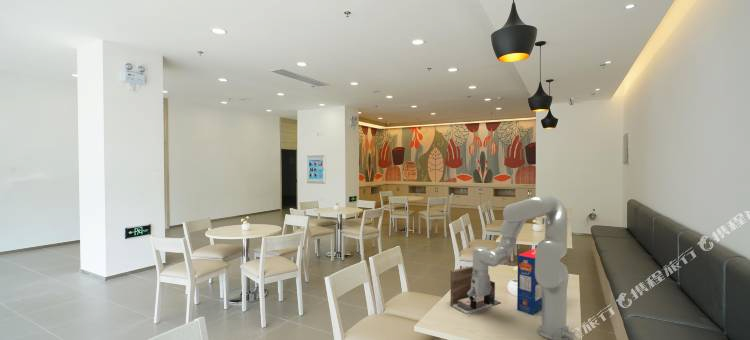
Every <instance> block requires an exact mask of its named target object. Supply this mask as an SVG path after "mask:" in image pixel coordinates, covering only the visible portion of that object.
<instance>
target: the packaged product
mask: <svg viewBox="0 0 750 340" xmlns="http://www.w3.org/2000/svg"><path fill="white" fill-rule="evenodd" d="M474 297H475V296H473V298H474ZM475 301H476V309H473V308H471V307H470V302H471V300H470V299H469V297H468V298H464V299H460V300H458V301H457V304H454V305H453V306H452V308H453V309H455V310H458V311H459V312H462V313H463V314H465V315H469V314H471V313H475V312H478V311H481V310H484V309H487V308H491V307H492V306H493V305H491V304H490V305H487V304H485V303H484V296H482V297H477V298H476V300H475Z"/></svg>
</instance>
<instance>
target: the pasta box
mask: <svg viewBox="0 0 750 340" xmlns="http://www.w3.org/2000/svg"><path fill="white" fill-rule="evenodd" d="M535 252H536V248H533V249H530V250H527V251H525V252H521V253H519V254H517V294H516V296H517V298H516V299H517V300H516V303H517V304H516V307H517V308H516V310H517V311H519V312H522V313H525V314H528V315H531V316H535V315H536V314H537V313H540V312H542V287H541V286H540V285H539V284H538V283H537V281H536V278H535Z"/></svg>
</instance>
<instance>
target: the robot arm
mask: <svg viewBox="0 0 750 340" xmlns="http://www.w3.org/2000/svg"><path fill="white" fill-rule="evenodd" d="M502 211H503V212H502V216H503V221H502V224H501V226H500V227H499V232H500V235H501V239H500V241H499V243H498V245H497V247H496V248H494V249H491V250H489V248H487V247H486V246H474V247H473V249H472V266H473V272H472V273H473V275H472V279H471V289H470V290H469V291H468V292H467V294H468V297H469V299H470V300H471V302H470V307H471V308H473V309H476V301H475V300H476V298H477V297H482V296H484V303H485V304H487V305H491V304H490V296H491V295H490V294H491V293H492V289H493V287H492V286H491V283H490V281H491V277H490V273H489V267H494V268H495V267H498V266H500V265H502V264H503V263H506V262H507V261H508V260H509V259H510V257H511V255H512V254H513V251H514V249H515V248H516V245H517V244H516V243H517V239H518V237H519V234H520V233H521V232H522V229H523V227H524V226H525V224H526V222H527V221H530V220H534V219H537V218H540V217H541V218H542V217H544V216H545V218H546V219H545V225H544V239H542V240H541V241H539V242H538V244H537V245H536V252H535V278H536V281H537V283H538V284H539V285H540V286H541V287H542V310H541V325H539V326H538V327H537V333H538V334H539V335H540V336H542V337H544V338H545V339H548V340H569V339H571V340H575V338H576V337H575V336H576V335H575V334H576V333H575V332H574V331H571V330H570V329H569V326H568V325H567V304H568V303H567V300H568V298H567V297H568V294H567V293H568V283H569V270H568V268H567V266H566V265H565V264H564V263H563V262H561V259H562V258H563V257H565V256H566V254H567V252H568V211H567V208H566V206H565V205H564V203H563V202H562V201H561V200H559V199H558V198H556V197H554V196H552V195H548V194H547V195H546V194H543V195H539V196H534V197H529V198H527V199H523V200H521V201H517V202H514V203H510V204H509V203H508V204H507V205H506V206H504V209H503V210H502ZM473 296H475V297H474V298H473Z"/></svg>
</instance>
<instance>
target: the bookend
mask: <svg viewBox="0 0 750 340" xmlns="http://www.w3.org/2000/svg"><path fill="white" fill-rule="evenodd" d="M490 283H491V286H492V287H493V289H492V293H491V294H490V295H491V296H490V305H492V306H497V305H499V304H501V303H502V302H501V301H499V300H497V299H495V298H496V282H494V281H492V280H490Z"/></svg>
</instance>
